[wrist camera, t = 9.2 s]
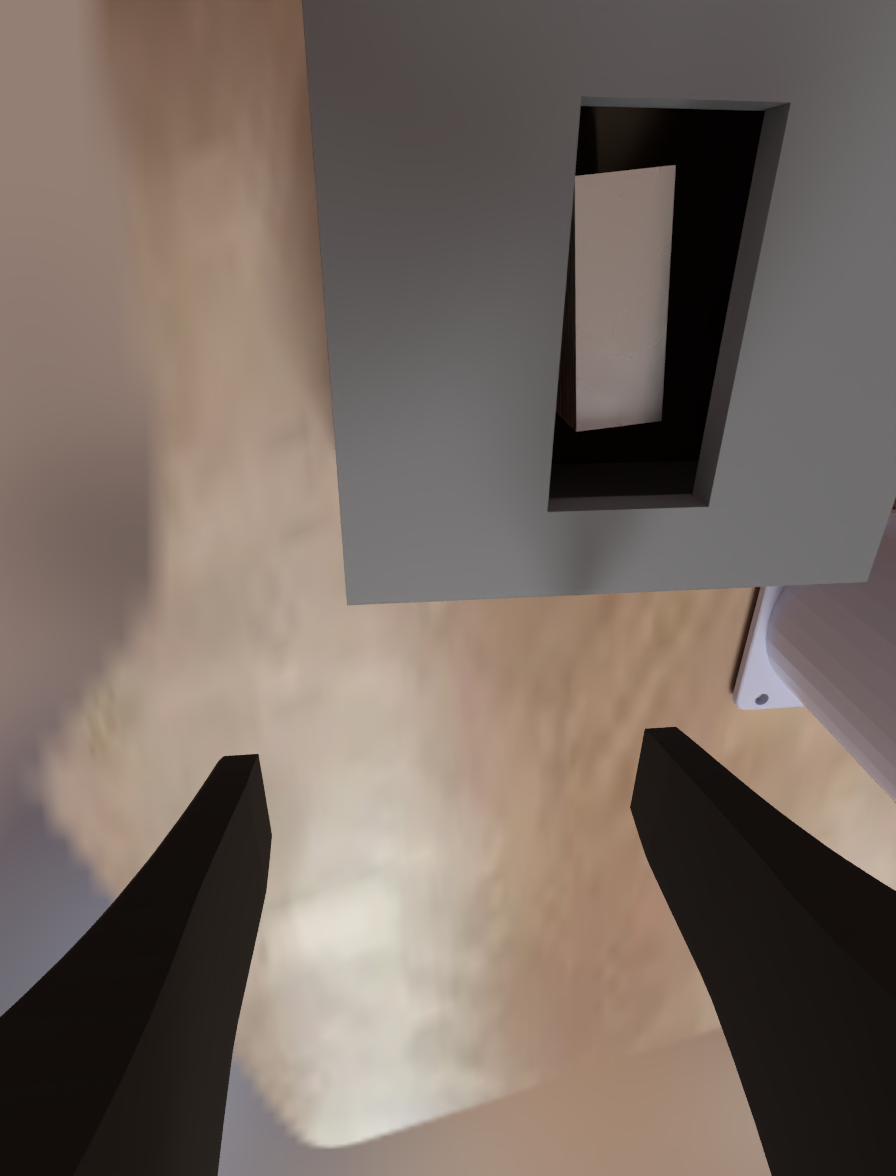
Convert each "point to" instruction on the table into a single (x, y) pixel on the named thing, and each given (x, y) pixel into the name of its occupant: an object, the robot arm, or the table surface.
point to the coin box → (538, 283)
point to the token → (616, 299)
